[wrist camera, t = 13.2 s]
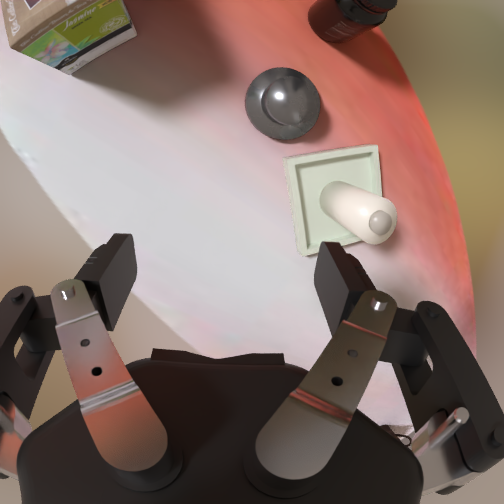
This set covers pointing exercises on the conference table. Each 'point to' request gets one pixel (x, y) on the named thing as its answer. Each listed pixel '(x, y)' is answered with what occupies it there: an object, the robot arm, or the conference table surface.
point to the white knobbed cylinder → (359, 211)
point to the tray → (312, 183)
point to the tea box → (66, 29)
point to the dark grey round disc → (282, 103)
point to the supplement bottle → (347, 17)
